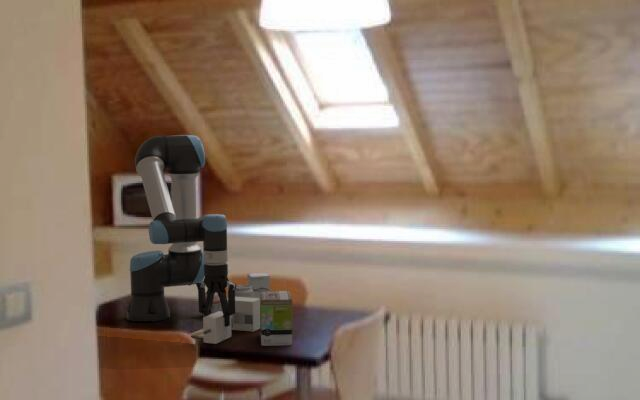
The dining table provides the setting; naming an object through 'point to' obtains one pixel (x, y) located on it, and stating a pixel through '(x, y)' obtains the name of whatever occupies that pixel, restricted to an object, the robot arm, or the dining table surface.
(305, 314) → the dining table surface
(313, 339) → the dining table surface
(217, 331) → the charger plug
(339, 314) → the dining table surface
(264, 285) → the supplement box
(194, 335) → the cork mat
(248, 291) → the can
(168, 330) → the dining table surface
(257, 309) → the socket box
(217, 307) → the cupcake
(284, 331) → the tea box
